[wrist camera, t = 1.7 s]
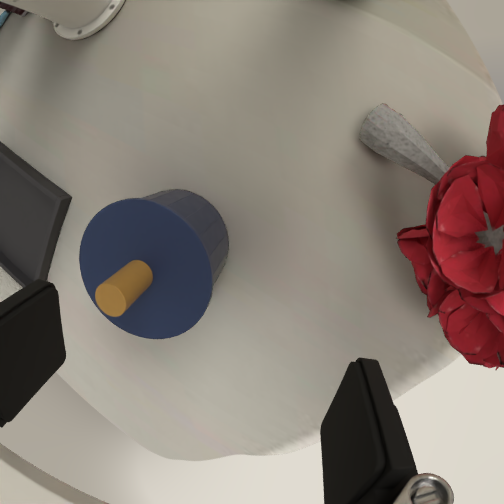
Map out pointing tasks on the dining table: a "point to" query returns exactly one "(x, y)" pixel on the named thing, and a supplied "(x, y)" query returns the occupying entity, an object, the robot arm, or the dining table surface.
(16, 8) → the supplement box
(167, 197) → the tin
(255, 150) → the dining table surface
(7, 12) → the pen
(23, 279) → the tray
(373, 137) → the bouquet
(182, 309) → the tin lid
